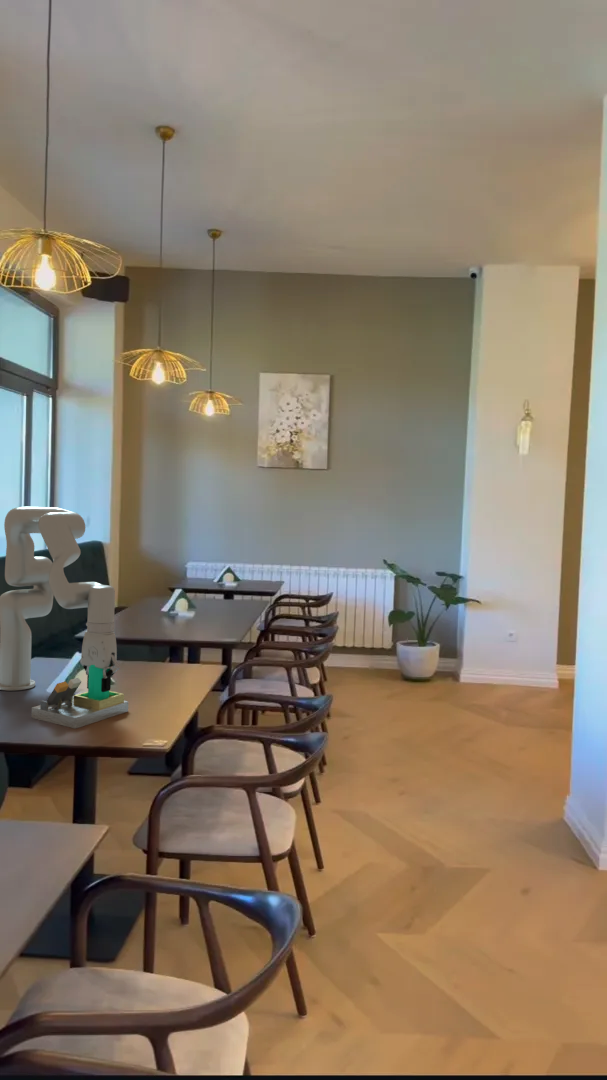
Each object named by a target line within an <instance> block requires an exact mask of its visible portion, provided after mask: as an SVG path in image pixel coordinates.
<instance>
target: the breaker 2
mask: <svg viewBox="0 0 607 1080" xmlns="http://www.w3.org/2000/svg"><path fill="white" fill-rule="evenodd" d="M67 684H68V685H69V687H68V688H67V690H66V691H65V692H64V694H63V695H62V697H61V698H62V704H63V703H67V702H69V700H71V698H72V696H74V695H75V693H76V691H77V689H78V688H79V687H80V685H81V684H82V680H81V679H80V678H79V677H76V678H72V679H69V681H68V682H67Z"/></svg>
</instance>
